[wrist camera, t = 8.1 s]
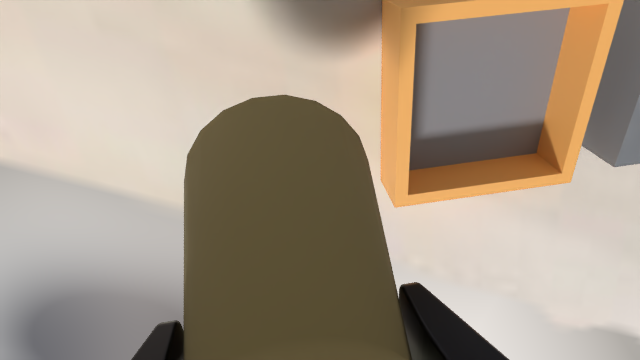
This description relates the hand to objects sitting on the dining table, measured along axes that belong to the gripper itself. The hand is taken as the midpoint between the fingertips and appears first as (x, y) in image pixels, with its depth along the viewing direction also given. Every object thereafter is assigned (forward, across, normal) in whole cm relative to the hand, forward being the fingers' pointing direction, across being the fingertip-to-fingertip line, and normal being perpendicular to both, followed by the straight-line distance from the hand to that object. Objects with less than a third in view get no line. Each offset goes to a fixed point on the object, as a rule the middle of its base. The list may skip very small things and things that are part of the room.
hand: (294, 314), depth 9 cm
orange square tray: (+12, -10, 0) cm, 15 cm away
